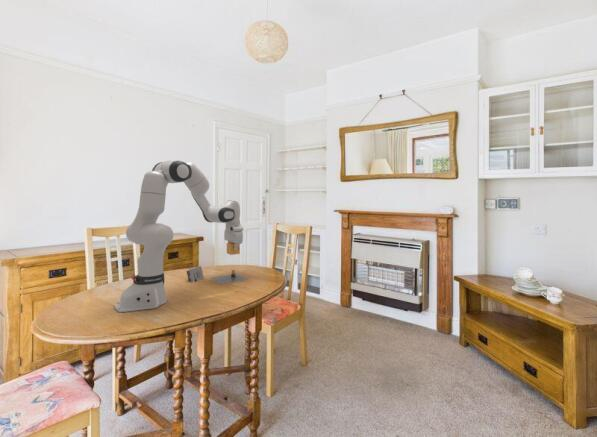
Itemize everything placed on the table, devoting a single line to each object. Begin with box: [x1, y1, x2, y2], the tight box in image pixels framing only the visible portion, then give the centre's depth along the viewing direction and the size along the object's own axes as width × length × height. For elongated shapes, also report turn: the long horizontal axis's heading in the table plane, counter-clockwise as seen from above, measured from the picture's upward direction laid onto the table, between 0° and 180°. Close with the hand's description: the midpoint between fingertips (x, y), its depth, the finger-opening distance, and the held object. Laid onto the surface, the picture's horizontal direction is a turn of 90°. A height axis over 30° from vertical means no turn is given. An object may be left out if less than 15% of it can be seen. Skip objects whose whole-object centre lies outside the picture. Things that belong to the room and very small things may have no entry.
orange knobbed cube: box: [226, 241, 241, 256], centre depth 195 cm, size 6×6×8 cm
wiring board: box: [210, 269, 249, 285], centre depth 192 cm, size 18×16×6 cm
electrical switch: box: [186, 265, 205, 283], centre depth 189 cm, size 9×5×9 cm, turn 152°
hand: (233, 249), depth 195 cm, fingers closed on orange knobbed cube, 6 cm apart
